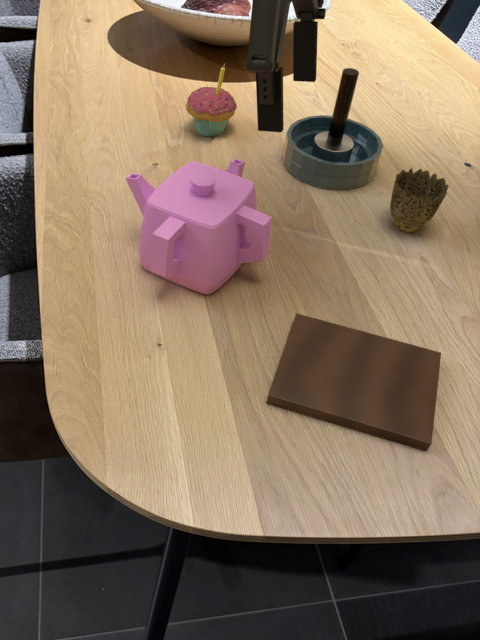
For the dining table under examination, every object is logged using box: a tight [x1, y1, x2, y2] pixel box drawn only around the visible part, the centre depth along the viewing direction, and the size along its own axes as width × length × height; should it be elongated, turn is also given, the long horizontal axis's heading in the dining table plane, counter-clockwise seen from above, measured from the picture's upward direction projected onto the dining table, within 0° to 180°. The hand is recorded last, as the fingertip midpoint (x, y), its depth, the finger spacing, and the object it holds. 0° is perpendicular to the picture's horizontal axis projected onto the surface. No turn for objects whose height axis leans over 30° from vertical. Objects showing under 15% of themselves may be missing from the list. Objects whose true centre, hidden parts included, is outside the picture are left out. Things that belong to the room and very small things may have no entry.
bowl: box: [282, 114, 384, 191], centre depth 99 cm, size 15×15×5 cm
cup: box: [389, 168, 449, 234], centre depth 88 cm, size 8×7×8 cm
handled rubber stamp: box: [311, 67, 360, 163], centre depth 95 cm, size 6×6×15 cm
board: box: [266, 312, 442, 452], centre depth 70 cm, size 18×14×2 cm
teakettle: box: [125, 158, 273, 296], centre depth 79 cm, size 17×17×12 cm
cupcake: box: [185, 63, 238, 138], centre depth 102 cm, size 9×8×12 cm
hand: (288, 104), depth 71 cm, fingers open, 13 cm apart
